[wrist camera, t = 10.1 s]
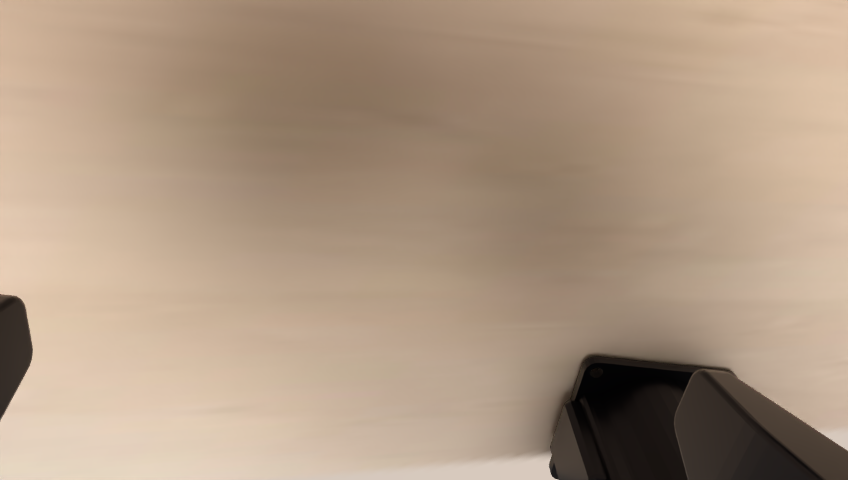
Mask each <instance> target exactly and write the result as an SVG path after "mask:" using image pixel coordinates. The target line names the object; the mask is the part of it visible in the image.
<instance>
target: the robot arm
mask: <svg viewBox="0 0 848 480" xmlns="http://www.w3.org/2000/svg"><path fill="white" fill-rule="evenodd" d="M32 353H33V348H32V341H31V336H30V330H29V324H28V319H27V313H26V308H25V305H24V303H23V301H22V300H21V299H20V298H18V297H17V296H12V295H2V294H0V420H1V418H2V417H3V415H4V413H5V411H6V409H7V407H8V405H9V404H10V402H11V400H12V398H13V396H14V394H15V392H16V390H17V389H18V387H19V385H20V383H21V381H22V379H23V377H24V376H25V374H26V372H27V370H28V368H29V366H30V363H31V360H32ZM594 368H599V369H598V370H596V371H591V370H592V369H594ZM550 448H551V452H552V457H551V460H550V464H549V468H550V472H551V475H552V477H554V478H555V479H559V480H848V451H847V450H846V449H844V448H843V447H841V446H839V445H838V444H836V443H835V442H833V441H832V440H830V439H829V438H827V437H826V436H824V435H823V434H821V433H820V432H818V431H817V430H815V429H814V428H812V427H811V426H809V425H808V424H806V423H805V422H803V421H802V420H800V419H799V418H797V417H795V416H794V415H792V414H791V413H789V412H788V411H786V410H785V409H783V408H782V407H780V406H779V405H777V404H776V403H774V402H773V401H771V400H770V399H768V398H767V397H765V396H764V395H762V394H761V393H759V392H757V391H756V390H754V389H753V388H751V387H750V386H748V385H747V384H745V383H744V382H742V381H741V380H739V379H738V377H737V376H736V375H735V374H734V373H733V372H732V371H729V370H720V369H711V368H701V367H692V366H683V365H673V364H664V363H655V362H646V361H636V360H627V359H618V358H608V357H599V356H594V357H590V358H588V359H586V360H585V361H584V362H583V364H582V366H581V369H580V372H579V375H578V378H577V381H576V384H575V387H574V390H573V393H572V396H571V400H568V401H567V402H566V403H565V404H564V406H563V409H562V412H561V415H560V418H559V421H558V424H557V428H556V431H555V434H554V437H553V440H552V443H551V446H550Z"/></svg>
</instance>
